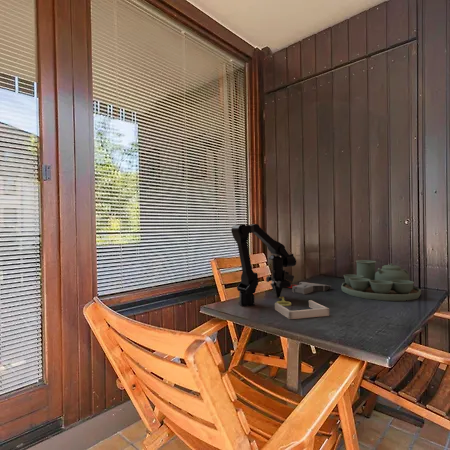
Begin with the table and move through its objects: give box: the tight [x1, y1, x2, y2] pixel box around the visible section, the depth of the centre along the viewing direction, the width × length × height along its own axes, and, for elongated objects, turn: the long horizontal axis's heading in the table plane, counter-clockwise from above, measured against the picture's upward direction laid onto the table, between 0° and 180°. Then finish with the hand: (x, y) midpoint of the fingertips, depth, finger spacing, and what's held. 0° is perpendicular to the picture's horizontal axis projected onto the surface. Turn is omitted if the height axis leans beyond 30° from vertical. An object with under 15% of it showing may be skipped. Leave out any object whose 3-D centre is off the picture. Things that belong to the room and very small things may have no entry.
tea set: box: [340, 259, 422, 302], centre depth 173 cm, size 40×40×16 cm
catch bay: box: [274, 299, 330, 320], centre depth 136 cm, size 18×15×3 cm
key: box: [275, 296, 292, 307], centre depth 153 cm, size 7×12×2 cm, turn 10°
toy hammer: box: [287, 281, 332, 295], centre depth 186 cm, size 24×4×30 cm
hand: (278, 297), depth 160 cm, fingers closed
